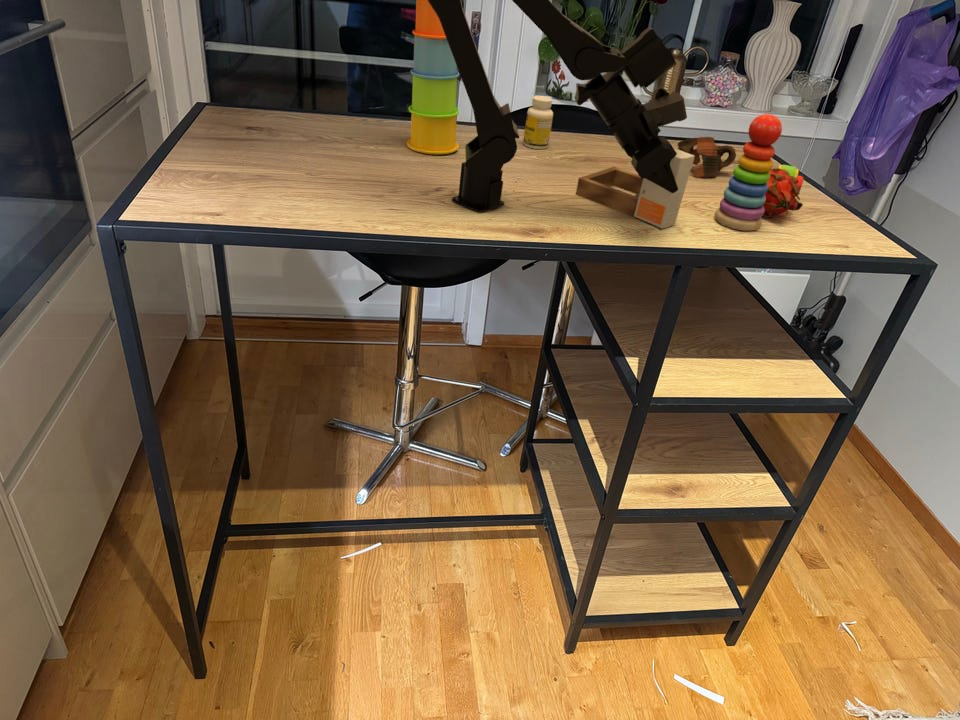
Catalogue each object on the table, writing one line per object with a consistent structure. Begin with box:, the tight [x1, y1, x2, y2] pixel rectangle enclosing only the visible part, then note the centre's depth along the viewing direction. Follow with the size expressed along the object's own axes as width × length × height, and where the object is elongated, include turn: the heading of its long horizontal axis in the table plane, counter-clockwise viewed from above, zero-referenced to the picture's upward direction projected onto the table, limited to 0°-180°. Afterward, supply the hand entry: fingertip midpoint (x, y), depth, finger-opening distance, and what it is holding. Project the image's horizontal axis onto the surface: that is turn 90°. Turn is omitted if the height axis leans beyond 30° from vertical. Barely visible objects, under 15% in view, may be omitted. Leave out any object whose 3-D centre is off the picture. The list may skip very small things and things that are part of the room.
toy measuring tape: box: [777, 164, 804, 198], centre depth 140 cm, size 6×19×7 cm, turn 158°
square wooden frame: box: [575, 166, 643, 217], centre depth 130 cm, size 12×20×3 cm, turn 139°
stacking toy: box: [714, 113, 783, 232], centre depth 119 cm, size 8×8×19 cm
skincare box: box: [633, 148, 695, 230], centre depth 117 cm, size 6×4×12 cm
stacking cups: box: [406, 0, 460, 155], centre depth 131 cm, size 10×10×35 cm
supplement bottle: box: [522, 95, 554, 150], centre depth 147 cm, size 5×5×10 cm
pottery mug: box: [677, 136, 737, 178], centre depth 147 cm, size 12×10×8 cm
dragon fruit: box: [762, 167, 803, 219], centre depth 129 cm, size 8×8×12 cm
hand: (670, 183), depth 117 cm, fingers closed on skincare box, 7 cm apart
